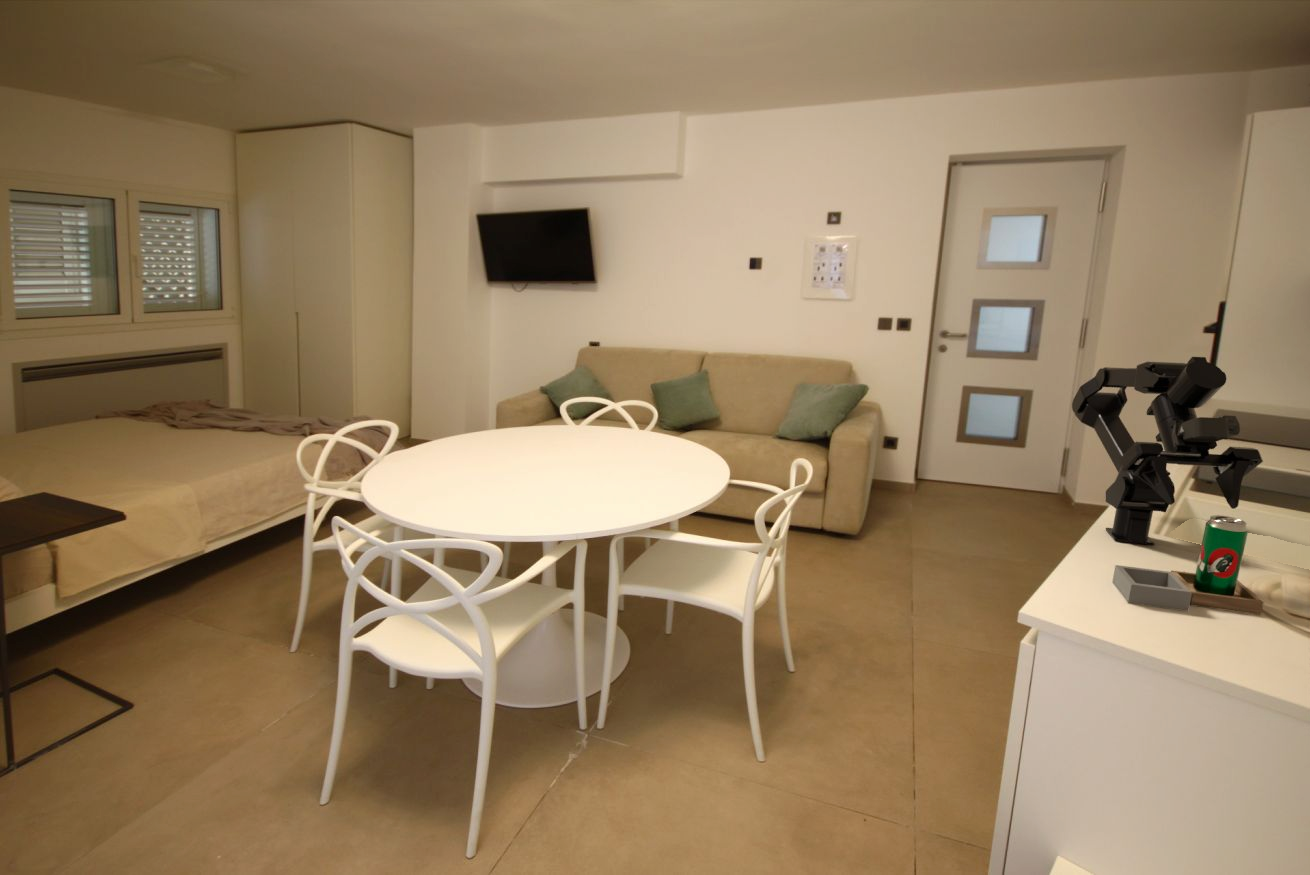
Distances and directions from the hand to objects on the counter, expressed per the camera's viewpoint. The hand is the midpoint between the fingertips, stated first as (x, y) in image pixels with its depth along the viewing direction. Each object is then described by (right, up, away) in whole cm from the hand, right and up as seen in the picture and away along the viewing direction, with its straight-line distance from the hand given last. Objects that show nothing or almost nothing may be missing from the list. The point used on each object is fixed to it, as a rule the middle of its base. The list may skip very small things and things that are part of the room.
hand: (1203, 505), depth 113 cm
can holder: (-11, -14, -3) cm, 18 cm away
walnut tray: (-1, -14, -3) cm, 14 cm away
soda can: (-1, -14, -3) cm, 14 cm away
